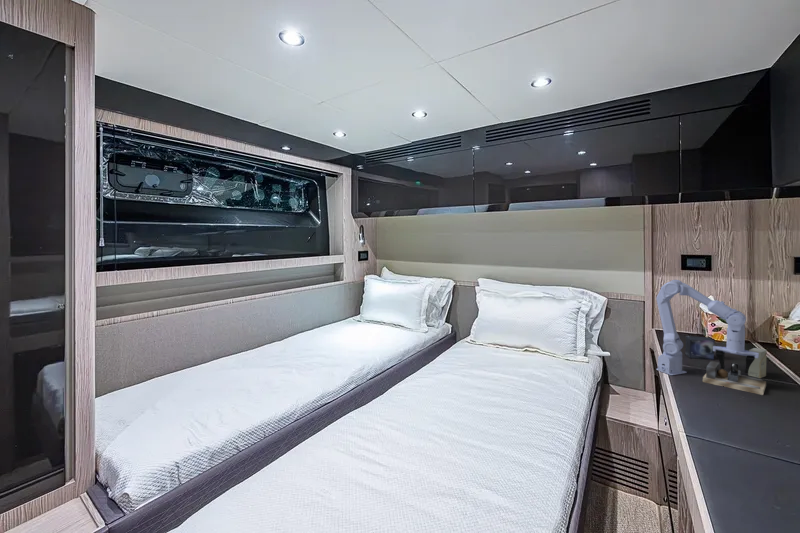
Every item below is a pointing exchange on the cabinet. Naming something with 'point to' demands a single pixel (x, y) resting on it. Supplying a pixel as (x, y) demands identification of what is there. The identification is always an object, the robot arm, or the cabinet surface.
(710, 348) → the small box
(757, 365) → the skincare box
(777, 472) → the cabinet surface
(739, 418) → the cabinet surface
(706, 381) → the press
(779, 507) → the cabinet surface
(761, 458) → the cabinet surface
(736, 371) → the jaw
